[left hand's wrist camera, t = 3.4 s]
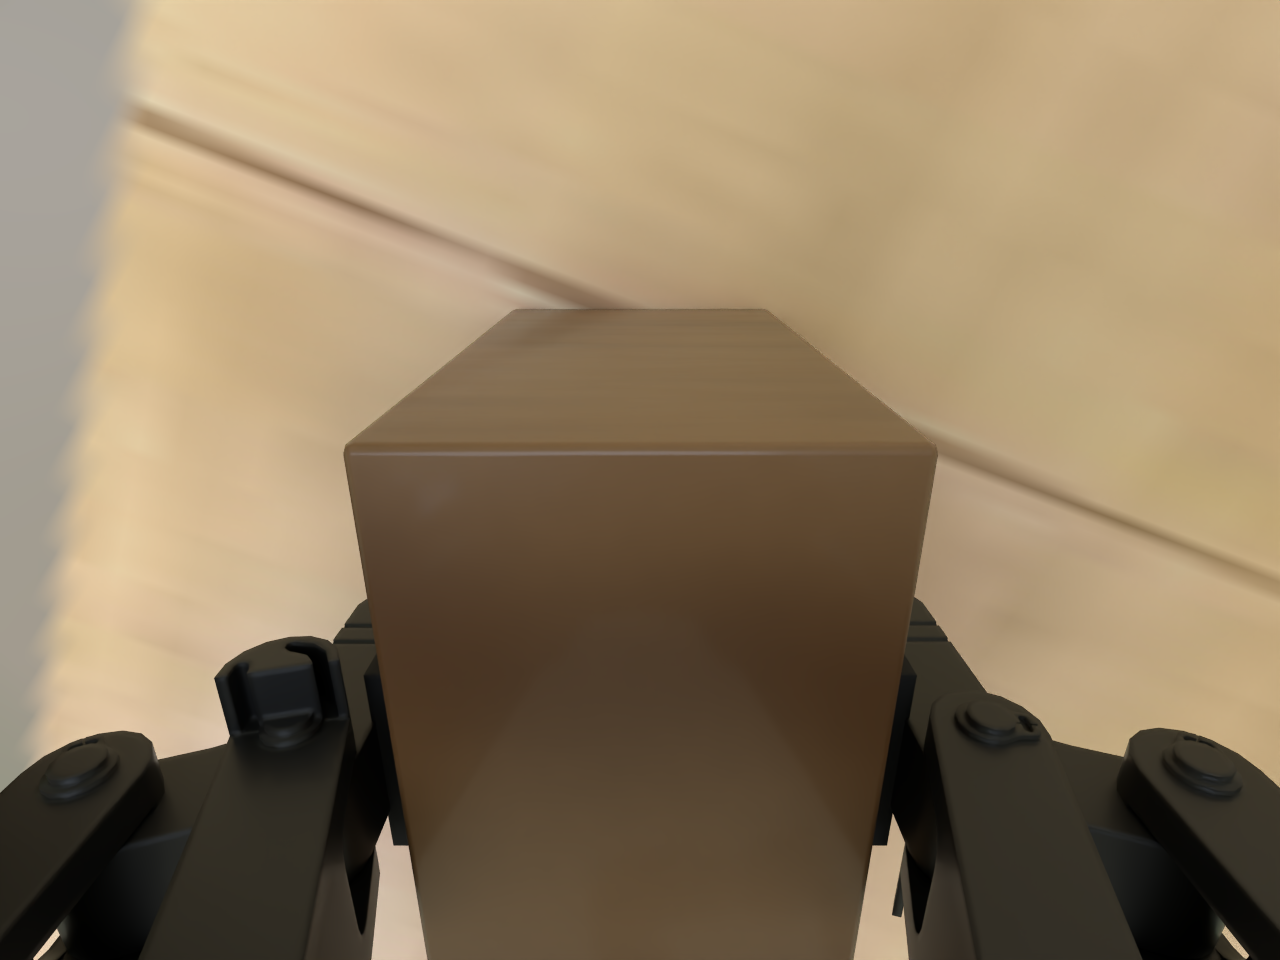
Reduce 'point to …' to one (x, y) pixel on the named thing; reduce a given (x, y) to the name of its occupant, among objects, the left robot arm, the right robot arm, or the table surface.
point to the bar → (640, 634)
